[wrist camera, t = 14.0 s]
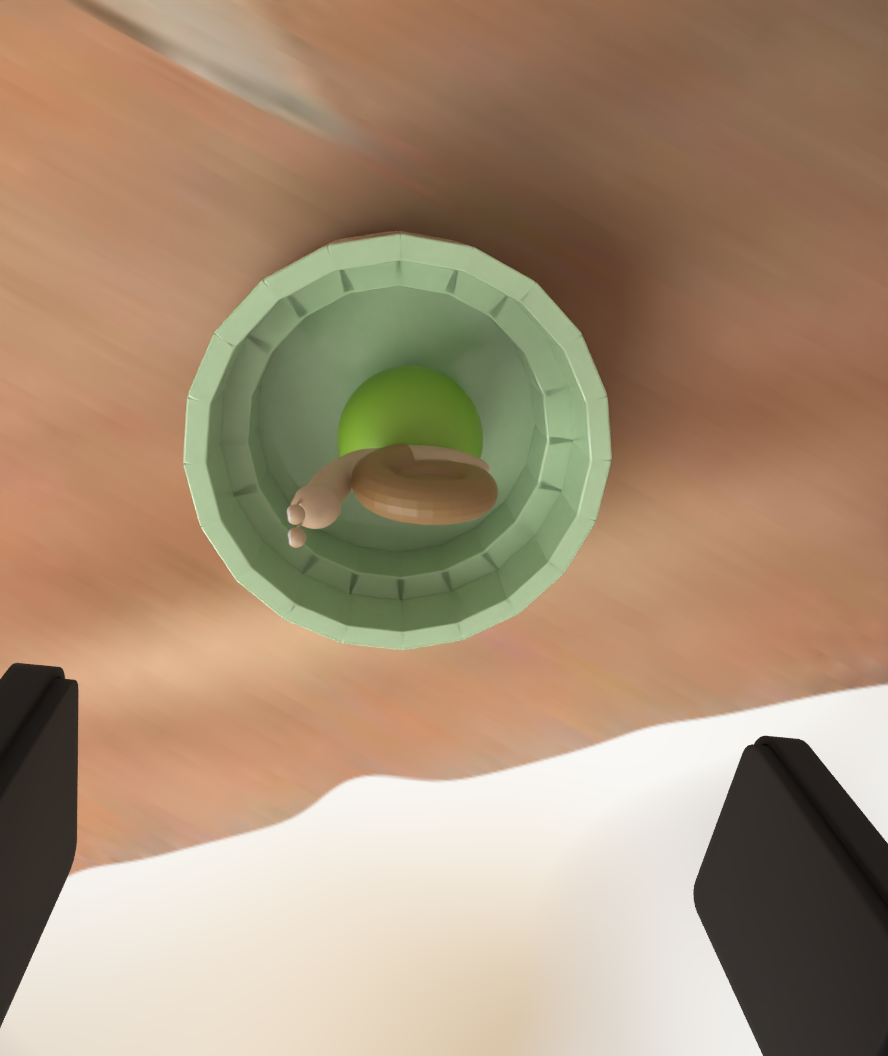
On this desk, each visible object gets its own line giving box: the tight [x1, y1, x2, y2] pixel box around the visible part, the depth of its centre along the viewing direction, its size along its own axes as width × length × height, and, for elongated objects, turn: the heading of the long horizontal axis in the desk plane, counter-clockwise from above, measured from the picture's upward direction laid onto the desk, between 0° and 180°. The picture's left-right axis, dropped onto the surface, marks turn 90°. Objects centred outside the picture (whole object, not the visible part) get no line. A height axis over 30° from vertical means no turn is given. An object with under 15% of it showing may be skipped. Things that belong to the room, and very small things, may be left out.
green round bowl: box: [183, 230, 612, 650], centre depth 31 cm, size 15×15×6 cm
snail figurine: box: [286, 366, 498, 548], centre depth 27 cm, size 5×6×12 cm
